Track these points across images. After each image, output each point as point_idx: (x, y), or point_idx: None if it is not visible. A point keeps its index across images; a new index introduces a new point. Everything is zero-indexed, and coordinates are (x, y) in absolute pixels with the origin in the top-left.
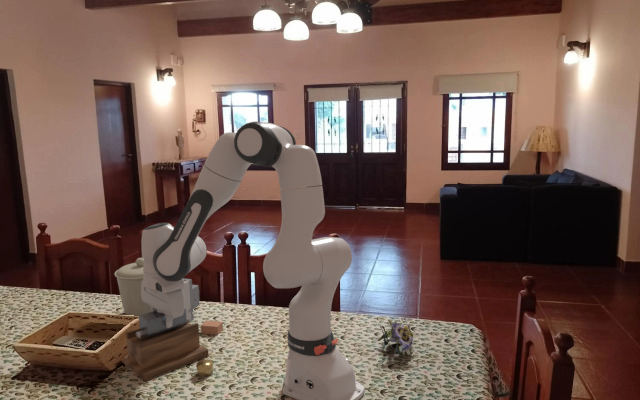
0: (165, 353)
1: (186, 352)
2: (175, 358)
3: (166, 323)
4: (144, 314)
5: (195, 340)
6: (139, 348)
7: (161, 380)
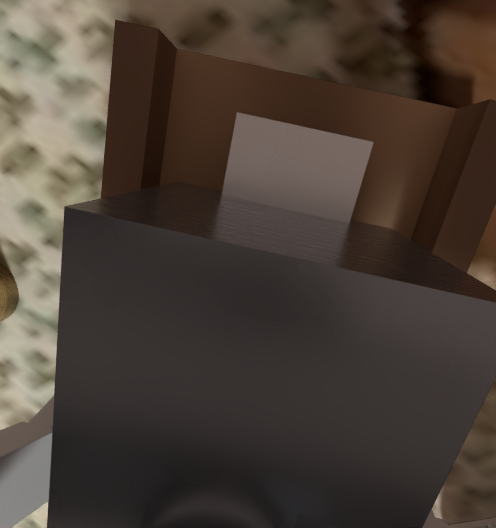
0: None
1: None
2: None
3: (38, 413)
4: (445, 411)
5: None
6: (175, 50)
7: (76, 121)
